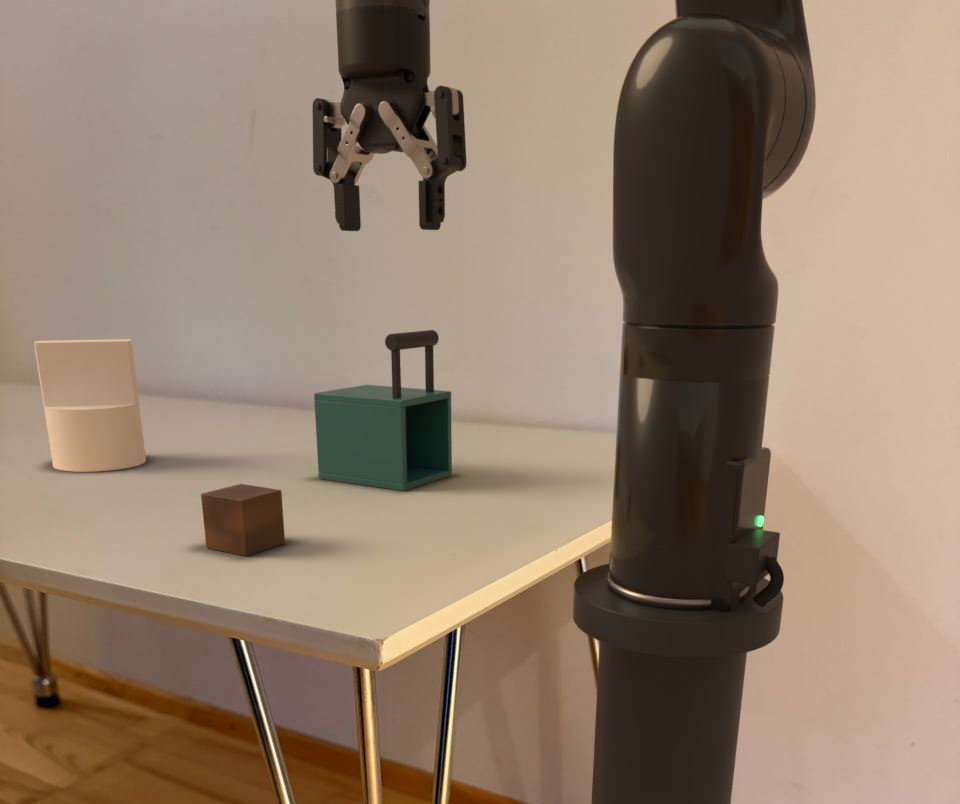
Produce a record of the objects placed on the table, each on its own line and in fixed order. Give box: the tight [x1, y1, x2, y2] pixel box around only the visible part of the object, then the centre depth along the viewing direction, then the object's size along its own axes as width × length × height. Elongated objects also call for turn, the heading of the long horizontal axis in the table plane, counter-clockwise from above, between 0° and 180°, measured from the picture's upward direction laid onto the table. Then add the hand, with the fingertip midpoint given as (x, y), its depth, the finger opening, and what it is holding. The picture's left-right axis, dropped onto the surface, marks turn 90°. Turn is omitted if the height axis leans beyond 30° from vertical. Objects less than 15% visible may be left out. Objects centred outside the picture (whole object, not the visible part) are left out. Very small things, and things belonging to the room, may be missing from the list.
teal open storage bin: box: [313, 329, 453, 492], centre depth 92 cm, size 10×8×14 cm
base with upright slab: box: [33, 338, 147, 473], centre depth 99 cm, size 9×9×12 cm
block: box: [200, 483, 286, 557], centre depth 71 cm, size 4×4×4 cm
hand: (389, 230), depth 85 cm, fingers open, 8 cm apart
